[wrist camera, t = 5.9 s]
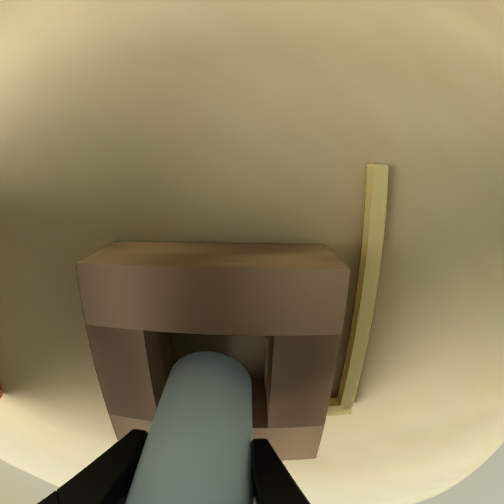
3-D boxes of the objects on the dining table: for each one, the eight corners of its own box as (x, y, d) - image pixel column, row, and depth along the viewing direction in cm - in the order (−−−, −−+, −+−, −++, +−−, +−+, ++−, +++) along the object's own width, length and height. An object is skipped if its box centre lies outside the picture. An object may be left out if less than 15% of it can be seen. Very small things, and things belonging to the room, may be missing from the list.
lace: (381, 165, 12) (388, 165, 11) (347, 405, 15) (350, 413, 14) (289, 157, 12) (291, 156, 11) (274, 409, 15) (275, 418, 14)
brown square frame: (325, 245, 13) (350, 269, 10) (305, 410, 15) (316, 458, 12) (114, 241, 13) (75, 262, 9) (139, 403, 15) (120, 447, 12)
